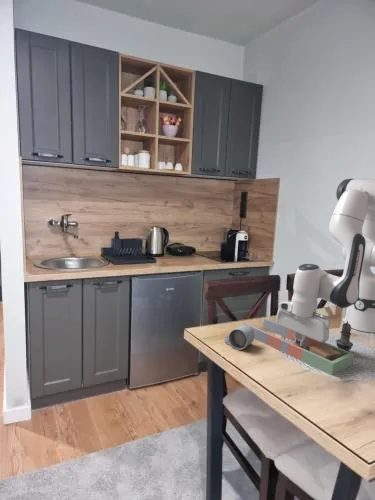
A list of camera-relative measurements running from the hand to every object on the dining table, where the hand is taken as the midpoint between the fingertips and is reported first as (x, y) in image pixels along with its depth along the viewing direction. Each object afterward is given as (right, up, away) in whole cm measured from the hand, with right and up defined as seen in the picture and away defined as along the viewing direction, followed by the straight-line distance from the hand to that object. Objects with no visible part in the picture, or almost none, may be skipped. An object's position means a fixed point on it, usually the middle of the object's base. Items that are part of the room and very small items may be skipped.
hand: (299, 344), depth 127 cm
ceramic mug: (-23, -1, +1) cm, 23 cm away
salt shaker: (+17, -3, +1) cm, 17 cm away
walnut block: (+5, -4, -9) cm, 11 cm away
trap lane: (-2, -2, +2) cm, 3 cm away
